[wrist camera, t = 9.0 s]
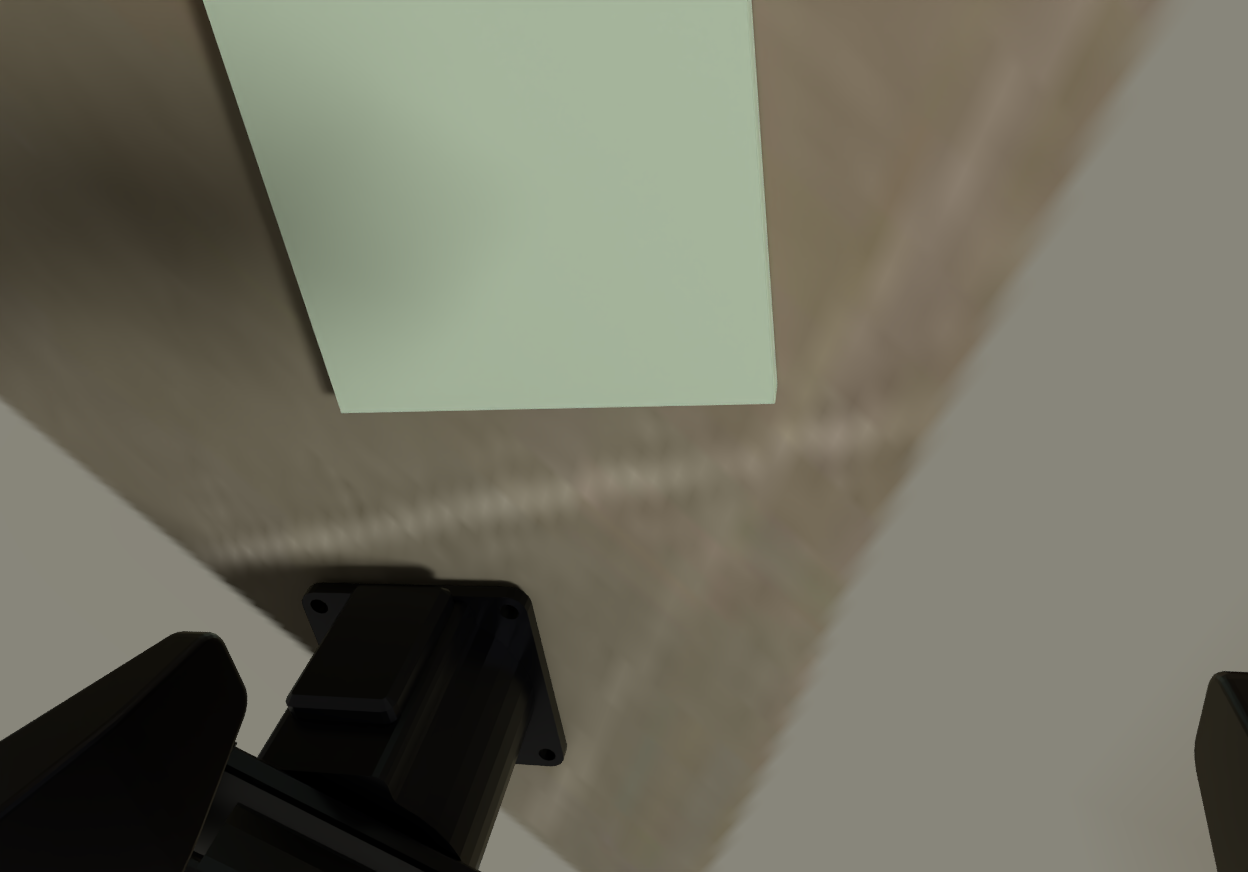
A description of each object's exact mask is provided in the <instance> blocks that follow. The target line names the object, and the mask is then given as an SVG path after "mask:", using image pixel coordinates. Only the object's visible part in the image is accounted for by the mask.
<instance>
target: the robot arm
mask: <svg viewBox="0 0 1248 872" xmlns="http://www.w3.org/2000/svg"><path fill="white" fill-rule="evenodd" d="M322 601H323V602H322ZM302 604H303V607H304V610H305V612H306V615H307V617H308V620H309V622H310V625H311V627H312V630H313V632H314V634H315V637H316V639H317V642H318V644H319V646H318V648H317V650H316V651H315V653H314V654H313V656H312V658H311V659H310V661H309V662H308V664H307V666H306V667H305V669H304V670H303V672H302V674H301V675H300V677H299V679H298V680H297V682H296V683H295V685H294V687H293V688H292V690H291V692H290V693H289V695H288V696H287V699H286V704H287V706H288V708H287V710H286V711H285V713H284V714H283V716H282V718H281V719H280V721H279V723H278V724H277V726H276V728H275V729H274V731H273V732H272V734H271V736H270V737H269V739H268V741H267V742H266V744H265V745H264V747H263V749H262V750H261V752H260V754H259V755H258V757H255V756H253V755H251V754H249V753H247V752H245V751H243V750H241V749H239V748H237V747H236V745H237V742H235V740H236V737H237V735H238V732H239V729H240V727H241V724H242V721H243V719H244V716H245V712H246V707H247V693H246V688H245V686H244V683H243V681H242V679H241V677H240V675H239V673H238V671H237V669H236V666H235V664H234V662H233V660H232V658H231V656H230V654H229V652H228V650H227V648H226V646H225V643H224V642H223V640H222V639H221V638H220V637H219V636H218V635H216V634H214V633H211V632H188V631H183V632H177V633H174V634H172V635H170V636H168V637H167V638H165V639H163V640H162V641H160V642H159V643H157V644H155V645H154V646H152V647H151V648H149V649H147V650H146V651H144V652H143V653H141V654H139V655H138V656H136V657H134V658H133V659H131V660H130V661H128V662H126V663H125V664H123V665H122V666H120V667H119V668H117V669H115V670H114V671H112V672H110V673H109V674H107V675H106V676H104V677H103V678H101V679H99V680H98V681H96V682H94V683H93V684H91V685H90V686H88V687H86V688H85V689H83V690H82V691H80V692H78V693H77V694H75V695H74V696H72V697H70V698H69V699H68V700H66V701H64V702H62V703H61V704H59V705H58V706H56V707H54V708H53V709H51V710H50V711H48V712H47V713H45V714H43V715H42V716H40V717H38V718H37V719H35V720H33V721H32V722H30V723H29V724H27V725H26V726H24V727H22V728H21V729H19V730H17V731H16V732H14V733H13V734H11V735H10V736H8V737H6V738H5V739H3V740H1V741H0V872H481V871H479V870H478V869H479V866H480V863H481V860H482V858H483V855H484V852H485V849H486V846H487V843H488V840H489V837H490V835H491V831H492V829H493V826H494V823H495V820H496V817H497V814H498V812H499V809H500V806H501V803H502V800H503V797H504V794H505V791H506V789H507V786H508V783H509V780H510V777H511V774H512V771H513V768H514V766H515V764H525V765H540V766H557V765H559V764H561V763H562V761H563V760H564V756H565V753H566V750H567V743H566V739H565V735H564V731H563V727H562V723H561V719H560V715H559V711H558V707H557V703H556V699H555V695H554V691H553V687H552V683H551V679H550V675H549V671H548V667H547V663H546V659H545V655H544V651H543V646H542V642H541V638H540V634H539V630H538V626H537V622H536V618H535V614H534V610H533V606H532V602H531V600H530V598H529V596H528V595H527V594H525V593H524V592H523V591H521V590H519V589H517V588H512V587H480V586H437V585H394V584H351V583H316V584H313V585H312V586H310V588H309V589H308V591H307V592H306V594H305V595H304V597H303V599H302ZM507 605H512V606H513V607H515V608H516V609H513V608H510V607H508V606H507ZM1194 752H1195V766H1196V772H1197V777H1198V782H1199V787H1200V791H1201V796H1202V801H1203V806H1204V810H1205V815H1206V820H1207V825H1208V829H1209V834H1210V839H1211V843H1212V848H1213V853H1214V857H1215V862H1216V866H1217V872H1248V672H1230V671H1222V672H1218V673H1216V674H1214V676H1213V677H1212V678H1211V680H1210V682H1209V685H1208V688H1207V692H1206V697H1205V701H1204V705H1203V710H1202V714H1201V718H1200V722H1199V726H1198V730H1197V735H1196V740H1195V749H1194Z"/></svg>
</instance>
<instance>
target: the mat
mask: <svg viewBox="0 0 1248 872" xmlns="http://www.w3.org/2000/svg"><path fill="white" fill-rule="evenodd" d="M203 2H204V5H205V8H206V11H207V14H208V17H209V20H210V23H211V26H212V29H213V32H214V35H215V38H216V41H217V44H218V47H219V50H220V53H221V56H222V59H223V62H224V65H225V68H226V71H227V74H228V77H229V80H230V83H231V86H232V89H233V92H234V95H235V98H236V101H237V104H238V107H239V110H240V113H241V116H242V119H243V121H244V124H245V127H246V130H247V133H248V136H249V139H250V142H251V145H252V148H253V151H254V154H255V157H256V160H257V163H258V166H259V169H260V172H261V175H262V178H263V181H264V184H265V187H266V190H267V193H268V196H269V199H270V202H271V205H272V208H273V211H274V214H275V217H276V220H277V223H278V226H279V229H280V232H281V235H282V238H283V241H284V244H285V246H286V249H287V252H288V255H289V258H290V261H291V264H292V267H293V270H294V273H295V276H296V279H297V282H298V285H299V288H300V291H301V294H302V297H303V300H304V303H305V306H306V309H307V312H308V315H309V318H310V321H311V324H312V327H313V330H314V333H315V336H316V339H317V342H318V345H319V348H320V351H321V354H322V357H323V360H324V363H325V366H326V368H327V371H328V374H329V377H330V380H331V383H332V386H333V389H334V392H335V395H336V398H337V401H338V404H339V407H340V410H341V413H366V412H412V411H458V410H504V409H551V408H597V407H643V406H689V405H736V404H775V398H776V390H777V373H776V358H775V343H774V329H773V314H772V299H771V284H770V269H769V254H768V239H767V225H766V210H765V195H764V180H763V165H762V150H761V135H760V121H759V106H758V91H757V76H756V61H755V46H754V31H753V17H752V2H751V0H203Z"/></svg>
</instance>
